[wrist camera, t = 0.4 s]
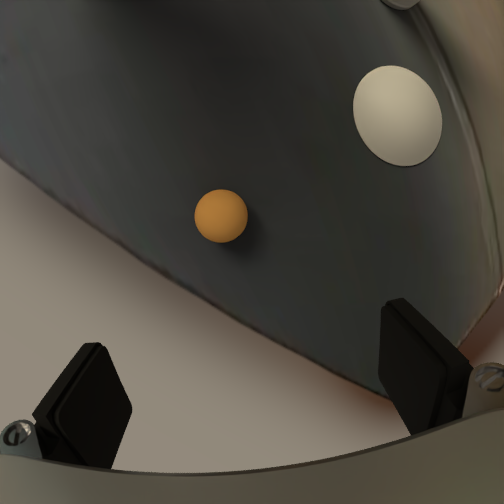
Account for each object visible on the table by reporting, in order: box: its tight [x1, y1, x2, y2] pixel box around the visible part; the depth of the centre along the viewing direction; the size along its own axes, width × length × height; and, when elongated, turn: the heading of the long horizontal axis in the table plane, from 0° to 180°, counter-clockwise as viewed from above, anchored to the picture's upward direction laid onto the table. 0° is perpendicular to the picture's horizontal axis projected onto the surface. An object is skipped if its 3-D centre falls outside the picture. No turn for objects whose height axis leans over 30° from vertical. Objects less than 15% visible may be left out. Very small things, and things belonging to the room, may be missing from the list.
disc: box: [353, 66, 442, 166], centre depth 33 cm, size 13×13×1 cm
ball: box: [195, 189, 248, 243], centre depth 34 cm, size 6×6×6 cm
